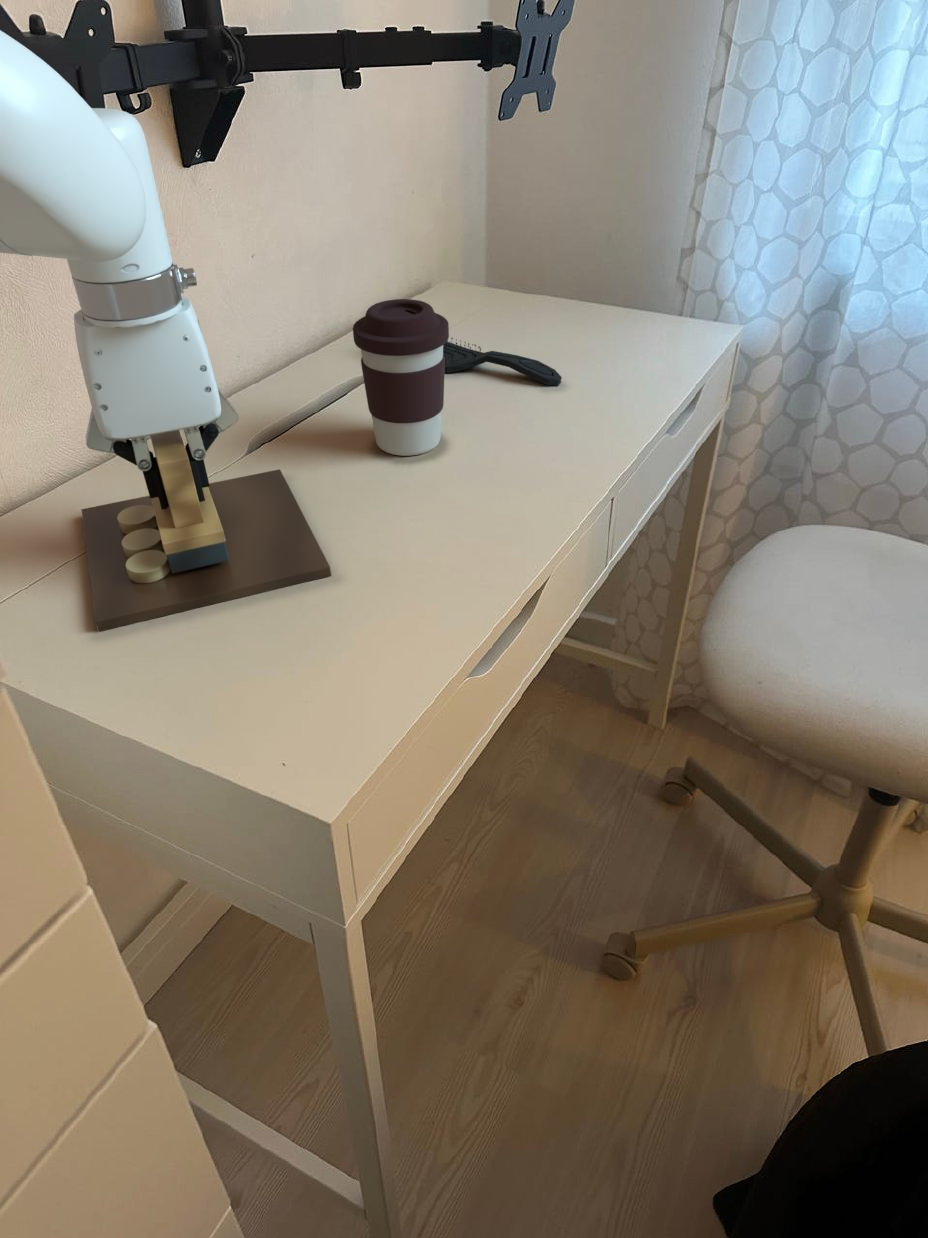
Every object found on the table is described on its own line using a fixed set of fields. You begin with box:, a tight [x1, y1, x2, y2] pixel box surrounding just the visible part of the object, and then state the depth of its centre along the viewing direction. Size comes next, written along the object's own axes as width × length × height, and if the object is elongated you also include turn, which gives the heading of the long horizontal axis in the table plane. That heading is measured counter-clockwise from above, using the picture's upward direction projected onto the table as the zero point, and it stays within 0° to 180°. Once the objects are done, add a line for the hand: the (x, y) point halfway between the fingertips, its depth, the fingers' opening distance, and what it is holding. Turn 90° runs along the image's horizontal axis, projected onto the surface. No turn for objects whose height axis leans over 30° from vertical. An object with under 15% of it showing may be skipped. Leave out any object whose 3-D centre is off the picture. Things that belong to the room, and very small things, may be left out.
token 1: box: [117, 505, 158, 534], centre depth 85 cm, size 4×4×1 cm
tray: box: [81, 468, 332, 632], centre depth 84 cm, size 20×20×1 cm
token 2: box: [122, 528, 164, 558], centre depth 82 cm, size 4×4×1 cm
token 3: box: [126, 550, 170, 583], centre depth 79 cm, size 4×4×1 cm
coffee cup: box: [352, 298, 450, 457], centre depth 96 cm, size 10×10×15 cm
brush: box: [149, 430, 229, 573], centre depth 80 cm, size 5×12×10 cm, turn 22°
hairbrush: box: [443, 337, 563, 387], centre depth 116 cm, size 8×4×25 cm
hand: (181, 496), depth 81 cm, fingers closed on brush, 2 cm apart
